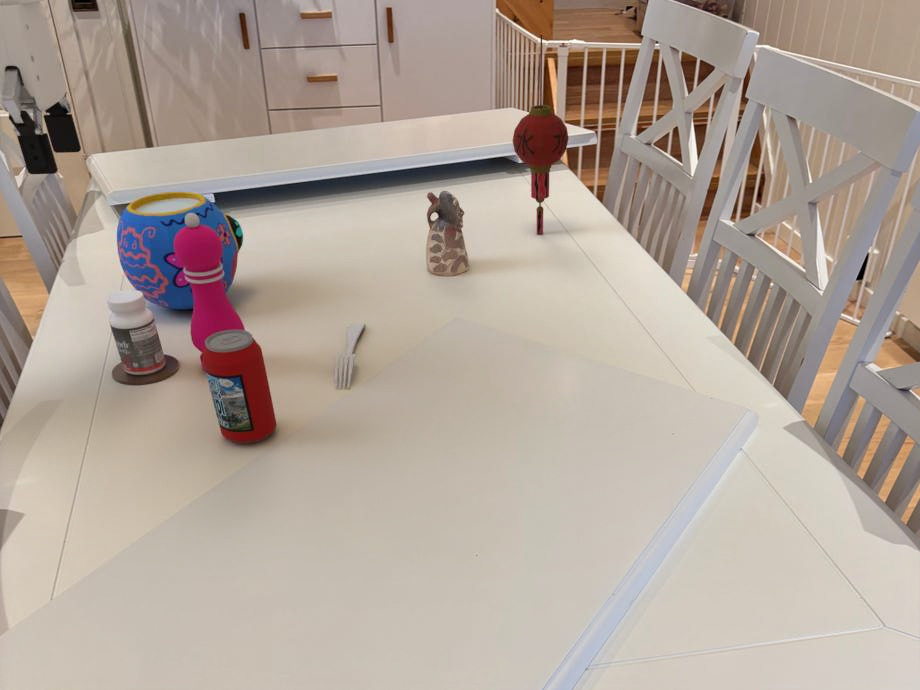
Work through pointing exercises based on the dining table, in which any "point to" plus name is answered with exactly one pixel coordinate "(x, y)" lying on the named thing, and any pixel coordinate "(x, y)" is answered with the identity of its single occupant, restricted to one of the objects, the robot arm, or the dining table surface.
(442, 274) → the figurine
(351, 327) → the fork
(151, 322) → the pill bottle
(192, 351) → the dining table surface
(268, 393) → the beverage can
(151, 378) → the coaster
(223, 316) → the pepper mill
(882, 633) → the dining table surface
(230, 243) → the ceramic pot
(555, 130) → the lantern
